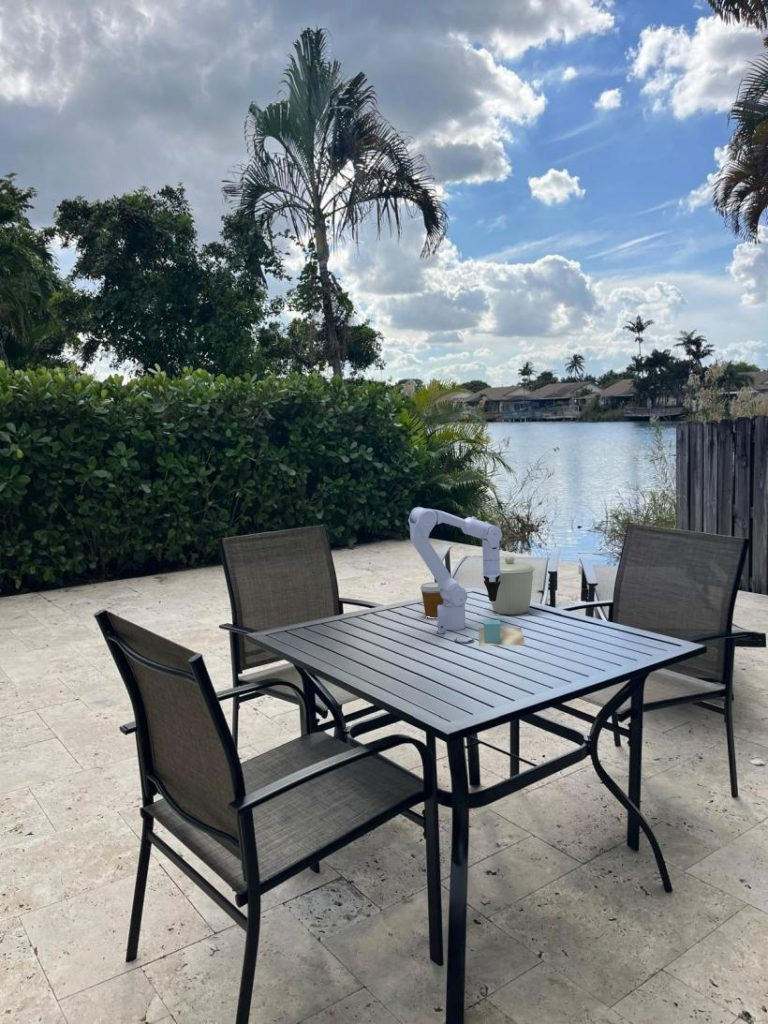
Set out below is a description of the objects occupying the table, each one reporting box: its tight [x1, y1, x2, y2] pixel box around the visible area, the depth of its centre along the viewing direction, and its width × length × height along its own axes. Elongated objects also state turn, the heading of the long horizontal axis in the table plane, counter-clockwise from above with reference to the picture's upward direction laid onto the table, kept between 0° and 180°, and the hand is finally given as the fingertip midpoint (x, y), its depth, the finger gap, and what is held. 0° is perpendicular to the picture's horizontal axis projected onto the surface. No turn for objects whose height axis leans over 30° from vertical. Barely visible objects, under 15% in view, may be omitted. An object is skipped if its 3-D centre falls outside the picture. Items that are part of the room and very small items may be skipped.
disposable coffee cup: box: [420, 581, 444, 617], centre depth 266 cm, size 10×10×12 cm
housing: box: [483, 619, 501, 643], centre depth 228 cm, size 5×5×6 cm
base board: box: [478, 627, 526, 646], centre depth 232 cm, size 14×20×5 cm
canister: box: [490, 554, 536, 616], centre depth 268 cm, size 18×18×21 cm
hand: (492, 598), depth 250 cm, fingers open, 7 cm apart
